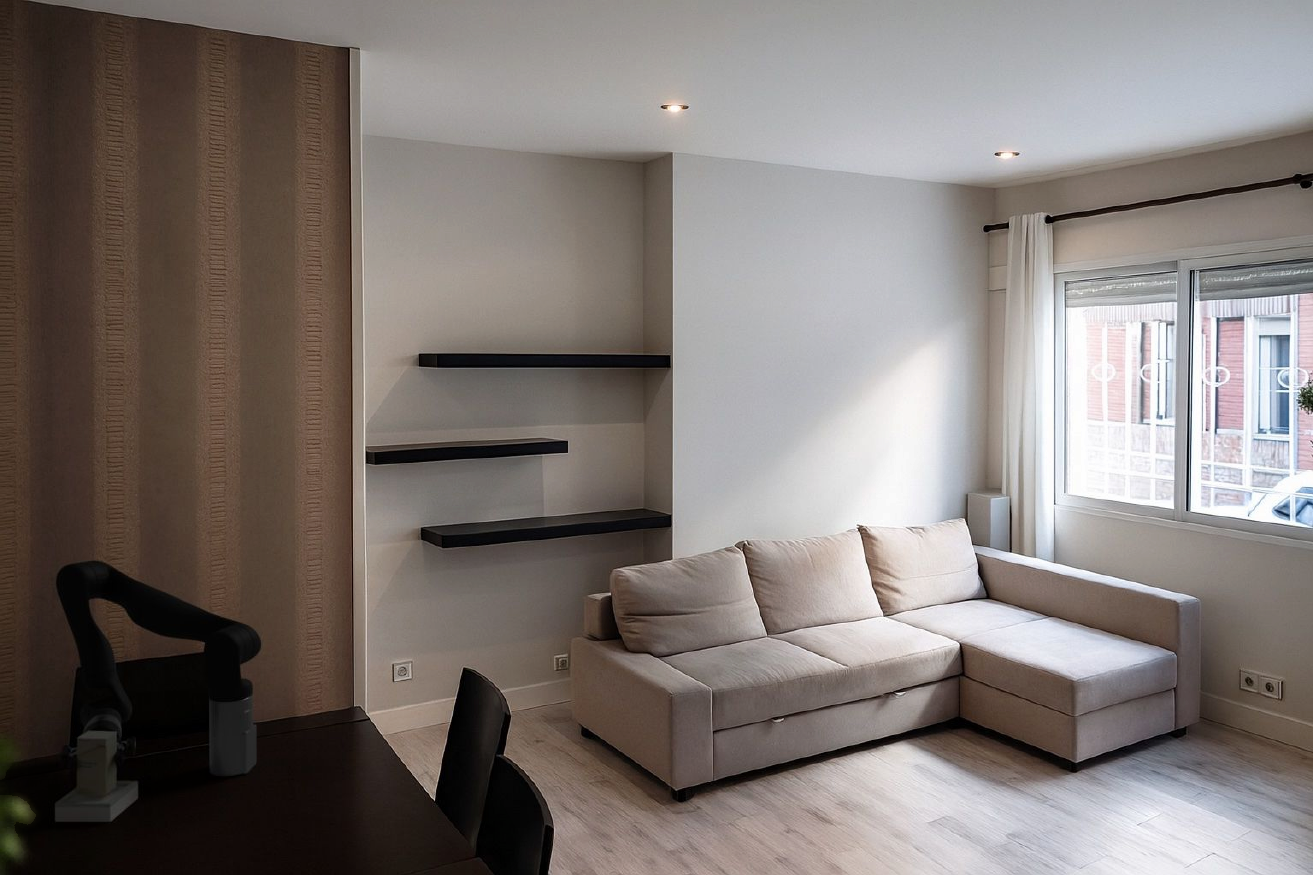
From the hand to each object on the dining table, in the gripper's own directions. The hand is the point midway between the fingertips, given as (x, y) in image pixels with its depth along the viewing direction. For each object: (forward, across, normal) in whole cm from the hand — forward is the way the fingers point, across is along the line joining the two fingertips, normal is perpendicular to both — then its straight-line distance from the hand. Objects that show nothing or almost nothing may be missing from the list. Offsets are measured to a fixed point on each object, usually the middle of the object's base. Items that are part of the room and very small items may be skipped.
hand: (96, 764), depth 195 cm
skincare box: (-2, 0, +7) cm, 7 cm away
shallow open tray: (-2, 0, +10) cm, 11 cm away
